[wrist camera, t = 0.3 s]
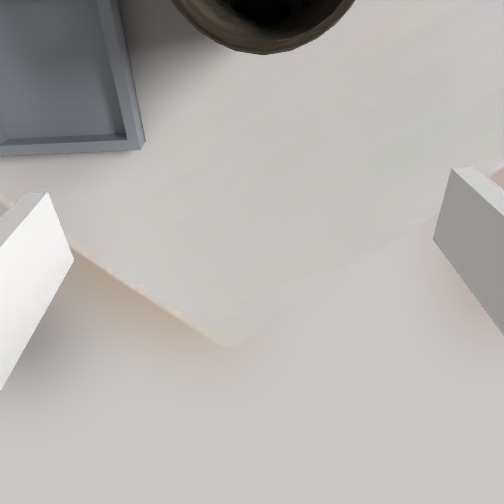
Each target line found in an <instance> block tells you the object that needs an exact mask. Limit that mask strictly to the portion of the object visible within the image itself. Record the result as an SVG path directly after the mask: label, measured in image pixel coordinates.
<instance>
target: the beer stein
mask: <svg viewBox="0 0 504 504" xmlns="http://www.w3.org/2000/svg"><path fill="white" fill-rule="evenodd" d="M171 1H172V2H173V3H174V5H175V6H176V8H177V9H178V11H179V12H180V13H181V14H182V15H183V16H184V17H185V18H186V19H187V20H188V21H189V22H190V23H191V24H192V25H193V26H194V27H195V28H196V29H197V30H199V31H200V32H202V33H203V34H205V35H206V36H208V37H209V38H211V39H212V40H214V41H215V42H217V43H219V44H221V45H224V46H226V47H228V48H230V49H233V50H235V51H240V52H246V53H252V54H258V55H268V54H274V53H280V52H286V51H291V50H294V49H296V48H298V47H300V46H302V45H305V44H307V43H309V42H311V41H313V40H315V39H317V38H318V37H320V36H321V35H322V34H324V33H325V32H326V31H327V30H329V29H330V28H331V27H333V26H334V25H335V24H336V23H337V22H338V21H339V20H340V19H341V18H342V17H343V15H344V14H345V13H346V12H347V11H348V10H349V8H350V7H351V6H352V4H353V3H354V1H355V0H171Z"/></svg>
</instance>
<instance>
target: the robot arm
mask: <svg viewBox="0 0 504 504" xmlns="http://www.w3.org/2000/svg"><path fill="white" fill-rule="evenodd" d="M433 240H434V241H435V243H436V244H437V245H438V247H439V248H440V249H441V251H442V252H443V253H444V255H445V256H446V258H447V259H448V260H449V262H450V263H451V264H452V266H453V267H454V268H455V270H456V271H457V273H458V274H459V275H460V277H461V278H462V279H463V281H464V282H465V283H466V284H467V286H468V288H469V289H470V290H471V292H472V293H473V294H474V296H475V297H476V298H477V300H478V301H479V302H480V304H481V305H482V307H483V308H484V309H485V310H486V312H487V313H488V315H489V316H490V317H491V319H492V320H493V322H494V323H495V324H496V325H497V327H498V328H499V330H500V331H501V332H502V334H503V335H504V190H502V189H501V188H500V187H499V186H498V185H496V184H495V183H494V182H493V181H492V180H490V179H489V178H488V177H487V176H486V175H484V174H483V173H482V172H481V171H479V170H478V169H477V168H476V167H467V168H452V169H451V172H450V176H449V180H448V184H447V187H446V191H445V195H444V199H443V203H442V206H441V210H440V214H439V218H438V221H437V226H436V229H435V233H434V237H433ZM73 261H74V258H73V256H72V253H71V251H70V248H69V245H68V243H67V240H66V238H65V235H64V233H63V230H62V227H61V225H60V222H59V220H58V217H57V215H56V212H55V209H54V207H53V204H52V202H51V199H50V197H49V194H48V192H39V193H24V194H23V195H22V196H21V197H20V198H19V199H18V200H17V201H16V202H15V203H14V205H13V206H12V207H11V208H10V209H9V210H8V211H7V212H6V213H5V214H4V215H3V216H2V217H1V218H0V390H1V389H2V387H3V385H4V384H5V382H6V380H7V378H8V376H9V375H10V373H11V371H12V369H13V368H14V366H15V364H16V362H17V360H18V359H19V357H20V355H21V353H22V352H23V350H24V348H25V346H26V345H27V343H28V341H29V339H30V337H31V335H32V334H33V332H34V330H35V329H36V327H37V325H38V323H39V321H40V320H41V318H42V316H43V314H44V313H45V311H46V309H47V307H48V306H49V304H50V302H51V300H52V298H53V297H54V295H55V293H56V291H57V290H58V288H59V286H60V284H61V282H62V281H63V279H64V277H65V275H66V274H67V272H68V270H69V268H70V266H71V265H72V263H73Z"/></svg>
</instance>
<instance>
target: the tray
mask: <svg viewBox="0 0 504 504" xmlns="http://www.w3.org/2000/svg"><path fill="white" fill-rule="evenodd" d="M144 142H145V136H144V131H143V126H142V121H141V116H140V111H139V105H138V100H137V95H136V90H135V85H134V80H133V75H132V70H131V65H130V60H129V55H128V50H127V45H126V39H125V34H124V29H123V24H122V19H121V14H120V9H119V4H118V0H0V156H18V155H40V154H62V153H83V152H105V151H127V150H141V148H142V146H143V144H144Z"/></svg>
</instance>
